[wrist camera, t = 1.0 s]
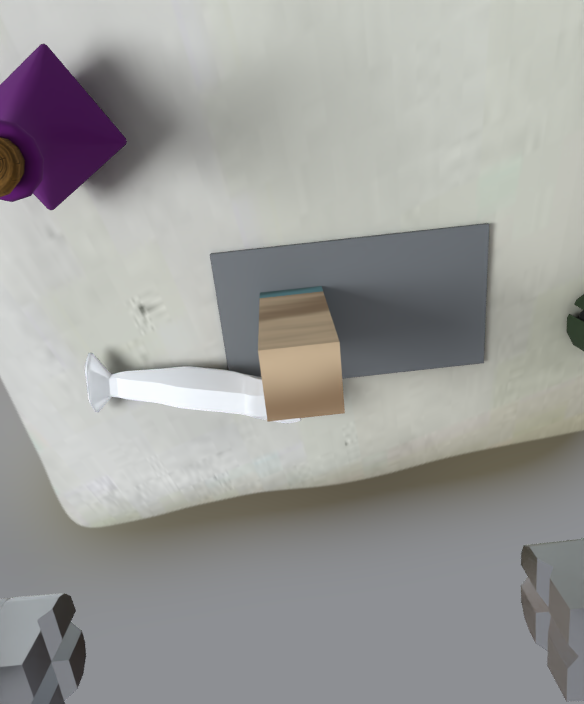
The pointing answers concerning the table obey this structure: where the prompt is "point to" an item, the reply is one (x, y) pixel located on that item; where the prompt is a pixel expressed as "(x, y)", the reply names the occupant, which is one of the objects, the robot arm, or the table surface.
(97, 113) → the perfume bottle
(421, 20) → the table surface
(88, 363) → the white fish figurine
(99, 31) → the table surface
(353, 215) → the table surface
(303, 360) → the oak block
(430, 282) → the rubber mat
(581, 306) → the character mug
